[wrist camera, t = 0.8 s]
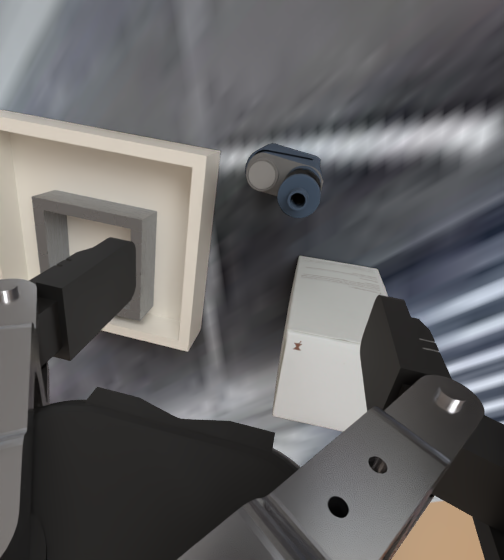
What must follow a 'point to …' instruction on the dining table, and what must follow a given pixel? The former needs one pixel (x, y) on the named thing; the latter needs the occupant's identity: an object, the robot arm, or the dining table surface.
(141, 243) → the inlet socket
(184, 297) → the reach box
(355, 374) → the supplement box
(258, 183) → the vaping device
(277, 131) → the dining table surface
